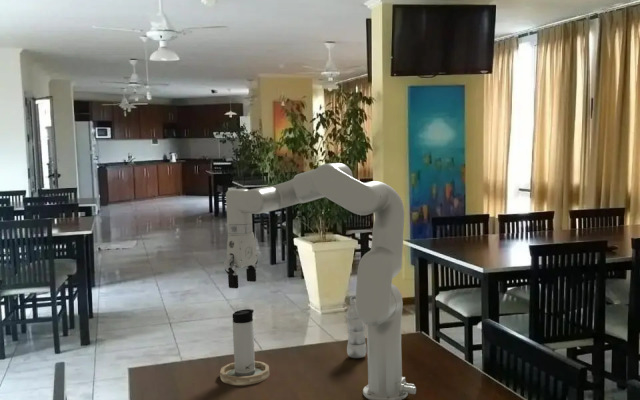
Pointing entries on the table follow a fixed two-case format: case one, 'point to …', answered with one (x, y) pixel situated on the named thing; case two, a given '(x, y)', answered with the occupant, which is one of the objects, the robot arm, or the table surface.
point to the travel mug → (243, 342)
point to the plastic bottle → (355, 333)
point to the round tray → (232, 379)
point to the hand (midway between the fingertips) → (242, 284)
